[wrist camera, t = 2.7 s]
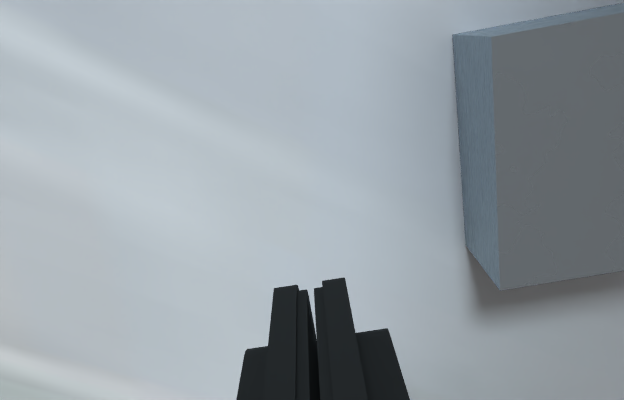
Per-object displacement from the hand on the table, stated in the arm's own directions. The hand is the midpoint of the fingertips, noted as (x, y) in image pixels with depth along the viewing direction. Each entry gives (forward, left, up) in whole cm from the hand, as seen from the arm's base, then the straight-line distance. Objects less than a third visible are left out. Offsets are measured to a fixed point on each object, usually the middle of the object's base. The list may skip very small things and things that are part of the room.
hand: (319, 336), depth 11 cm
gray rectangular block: (-1, +11, -12) cm, 16 cm away
